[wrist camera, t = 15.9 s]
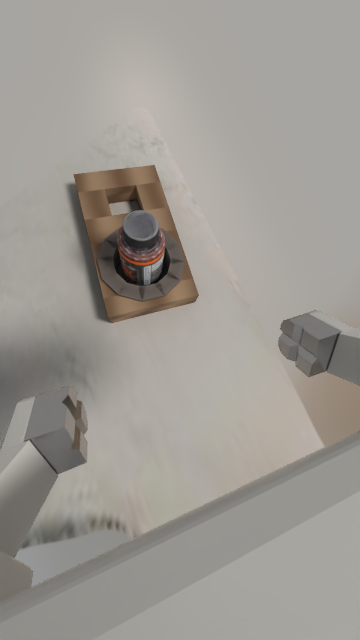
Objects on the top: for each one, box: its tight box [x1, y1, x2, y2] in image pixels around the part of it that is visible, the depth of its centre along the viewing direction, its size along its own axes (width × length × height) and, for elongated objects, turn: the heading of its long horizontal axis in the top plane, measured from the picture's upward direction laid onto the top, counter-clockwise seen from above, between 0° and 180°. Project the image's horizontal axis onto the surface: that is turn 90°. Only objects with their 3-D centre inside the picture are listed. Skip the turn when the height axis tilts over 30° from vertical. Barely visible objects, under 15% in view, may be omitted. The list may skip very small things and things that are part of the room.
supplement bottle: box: [117, 210, 165, 287], centre depth 30 cm, size 6×6×11 cm
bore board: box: [74, 165, 199, 323], centre depth 35 cm, size 13×24×4 cm, turn 17°
